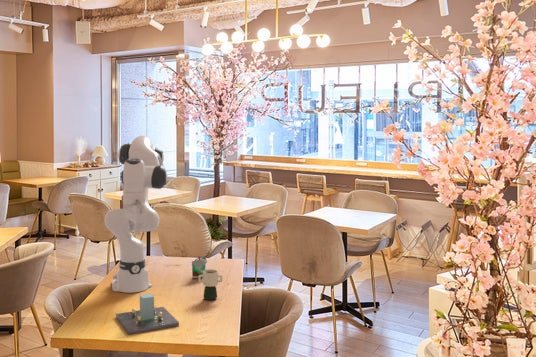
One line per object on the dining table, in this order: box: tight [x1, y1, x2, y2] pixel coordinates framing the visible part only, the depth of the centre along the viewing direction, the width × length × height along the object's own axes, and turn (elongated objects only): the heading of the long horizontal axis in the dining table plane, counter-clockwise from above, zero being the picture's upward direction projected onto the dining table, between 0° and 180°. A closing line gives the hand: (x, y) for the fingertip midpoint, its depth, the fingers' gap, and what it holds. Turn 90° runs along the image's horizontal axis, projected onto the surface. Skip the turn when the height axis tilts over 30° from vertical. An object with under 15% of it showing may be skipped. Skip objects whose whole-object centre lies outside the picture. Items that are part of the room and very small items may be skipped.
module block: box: [139, 293, 155, 320], centre depth 211 cm, size 4×4×9 cm
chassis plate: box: [115, 305, 180, 336], centre depth 211 cm, size 20×20×4 cm
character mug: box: [198, 268, 223, 301], centre depth 241 cm, size 11×7×13 cm, turn 93°
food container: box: [191, 255, 208, 280], centre depth 275 cm, size 12×6×10 cm, turn 171°
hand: (134, 231), depth 217 cm, fingers open, 8 cm apart
